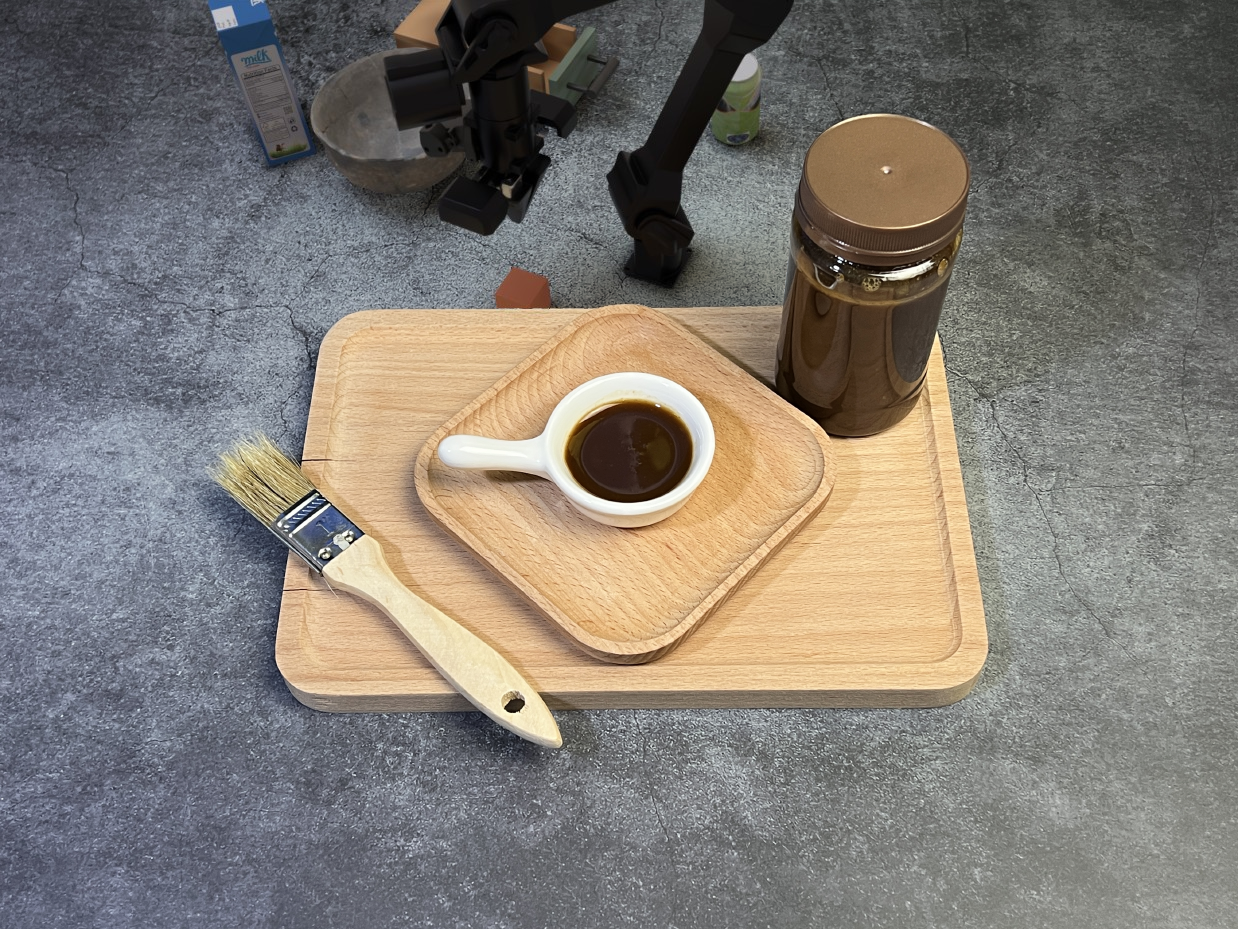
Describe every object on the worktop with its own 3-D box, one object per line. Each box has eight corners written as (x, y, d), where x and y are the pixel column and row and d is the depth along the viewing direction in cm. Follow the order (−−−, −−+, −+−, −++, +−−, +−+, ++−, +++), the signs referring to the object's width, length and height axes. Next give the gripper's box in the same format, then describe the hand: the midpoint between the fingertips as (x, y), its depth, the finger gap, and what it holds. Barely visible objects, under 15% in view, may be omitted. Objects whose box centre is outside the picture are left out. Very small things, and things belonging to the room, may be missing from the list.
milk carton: (316, 153, 142) (271, 18, 126) (269, 167, 141) (217, 32, 125) (299, 106, 148) (253, -30, 131) (253, 119, 146) (201, -17, 130)
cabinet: (543, 58, 151) (538, 3, 144) (500, 115, 145) (492, 60, 138) (451, 33, 155) (441, -23, 148) (405, 87, 149) (393, 32, 142)
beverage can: (758, 118, 144) (766, 38, 134) (757, 157, 140) (764, 78, 130) (710, 116, 144) (714, 36, 134) (707, 154, 140) (711, 76, 130)
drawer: (627, 80, 147) (626, 36, 141) (590, 133, 142) (587, 90, 136) (510, 47, 152) (504, 3, 146) (469, 97, 146) (462, 54, 140)
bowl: (395, 91, 149) (379, 27, 140) (522, 142, 143) (513, 77, 134) (296, 186, 139) (273, 123, 131) (427, 245, 133) (412, 183, 125)
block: (533, 332, 125) (529, 306, 122) (499, 319, 127) (494, 293, 123) (551, 304, 128) (548, 278, 124) (517, 292, 129) (513, 266, 125)
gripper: (478, 23, 111) (496, 144, 125) (376, 137, 103) (407, 254, 116) (575, 53, 109) (583, 174, 122) (478, 173, 100) (498, 289, 113)
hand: (517, 220), depth 118 cm, fingers closed
